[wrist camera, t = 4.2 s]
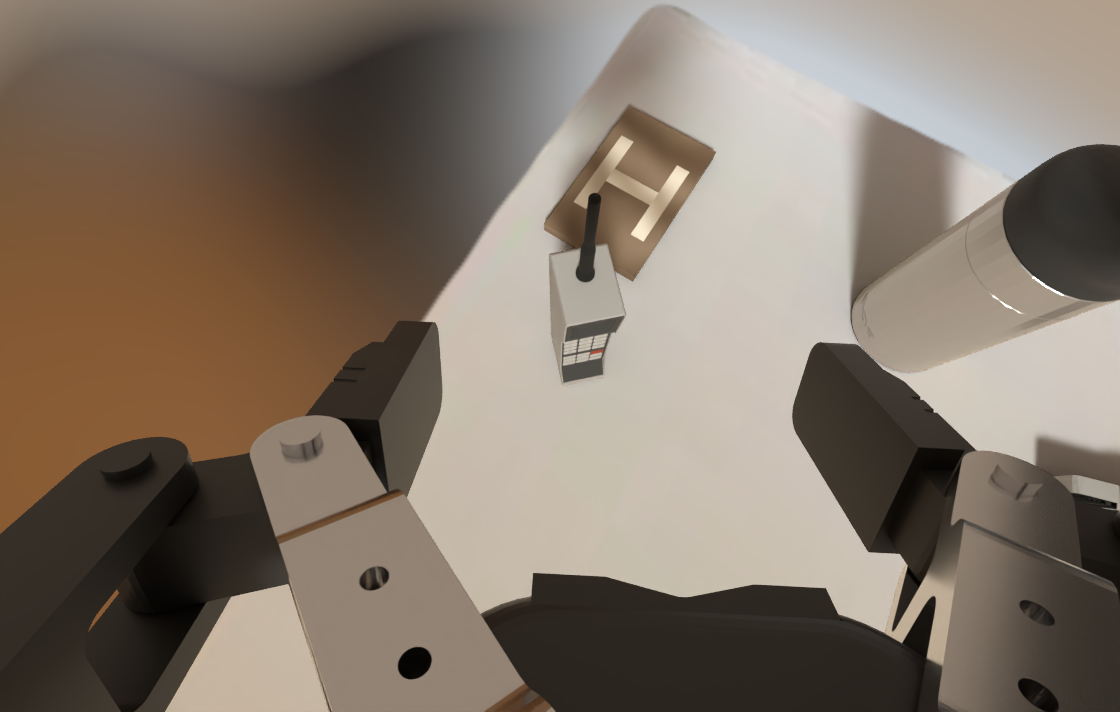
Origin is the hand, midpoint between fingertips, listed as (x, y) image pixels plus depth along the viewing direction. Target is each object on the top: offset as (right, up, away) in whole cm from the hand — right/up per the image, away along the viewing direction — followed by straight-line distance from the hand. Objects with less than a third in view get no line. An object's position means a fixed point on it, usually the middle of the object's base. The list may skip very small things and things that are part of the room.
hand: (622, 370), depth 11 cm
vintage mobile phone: (0, 0, +37) cm, 37 cm away
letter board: (+6, +16, +41) cm, 45 cm away
